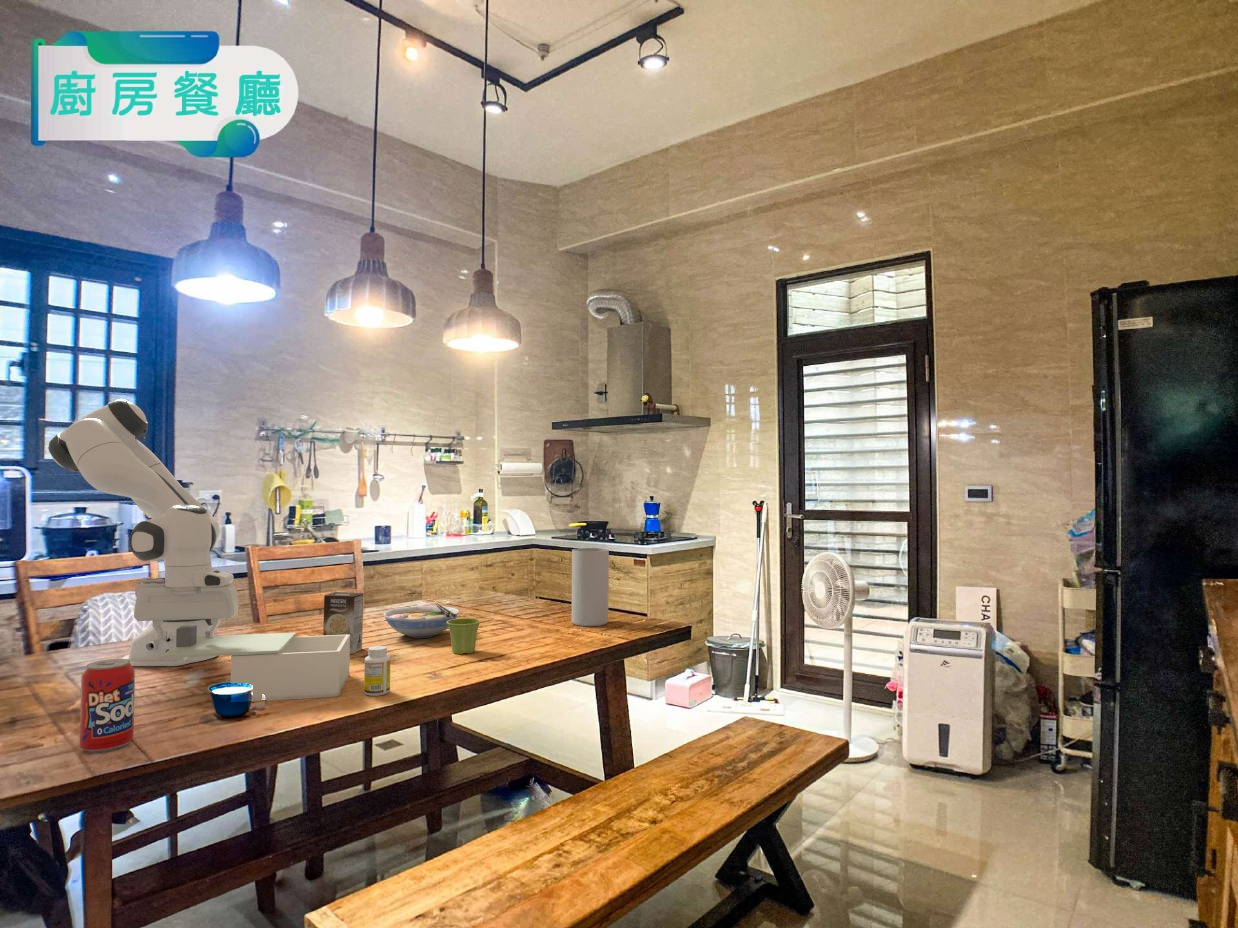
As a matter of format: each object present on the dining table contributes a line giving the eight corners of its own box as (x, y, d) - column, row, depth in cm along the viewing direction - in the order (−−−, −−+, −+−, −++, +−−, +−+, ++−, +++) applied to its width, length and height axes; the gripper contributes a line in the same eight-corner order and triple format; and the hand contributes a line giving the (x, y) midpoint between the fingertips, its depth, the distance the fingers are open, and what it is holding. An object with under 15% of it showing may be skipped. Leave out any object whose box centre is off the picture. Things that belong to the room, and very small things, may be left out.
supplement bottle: (381, 688, 166) (382, 643, 166) (394, 692, 163) (395, 647, 163) (359, 693, 162) (359, 647, 162) (372, 698, 158) (373, 651, 159)
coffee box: (321, 653, 199) (322, 595, 200) (332, 647, 205) (333, 591, 206) (353, 654, 198) (353, 595, 199) (363, 648, 205) (364, 592, 205)
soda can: (104, 738, 133) (106, 656, 133) (143, 739, 132) (145, 657, 132) (67, 754, 125) (70, 667, 125) (109, 755, 124) (111, 668, 125)
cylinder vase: (563, 623, 243) (564, 549, 244) (588, 618, 253) (589, 547, 254) (591, 628, 235) (591, 552, 236) (615, 622, 245) (616, 549, 246)
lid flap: (159, 658, 151) (160, 636, 151) (190, 639, 169) (191, 619, 169) (278, 653, 156) (278, 631, 156) (295, 634, 175) (296, 615, 175)
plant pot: (439, 653, 199) (439, 622, 200) (459, 646, 208) (459, 616, 208) (467, 657, 196) (468, 625, 196) (486, 649, 204) (487, 619, 205)
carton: (229, 702, 154) (230, 656, 154) (251, 680, 172) (252, 638, 172) (338, 696, 159) (339, 651, 160) (349, 675, 177) (349, 634, 177)
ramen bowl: (379, 630, 229) (379, 604, 230) (451, 625, 238) (452, 600, 239) (387, 647, 206) (387, 618, 207) (466, 641, 215) (467, 613, 216)
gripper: (129, 580, 155) (127, 644, 155) (233, 578, 160) (231, 640, 160) (141, 576, 161) (139, 638, 161) (241, 574, 166) (239, 634, 166)
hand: (186, 639), depth 160 cm, fingers open, 8 cm apart
